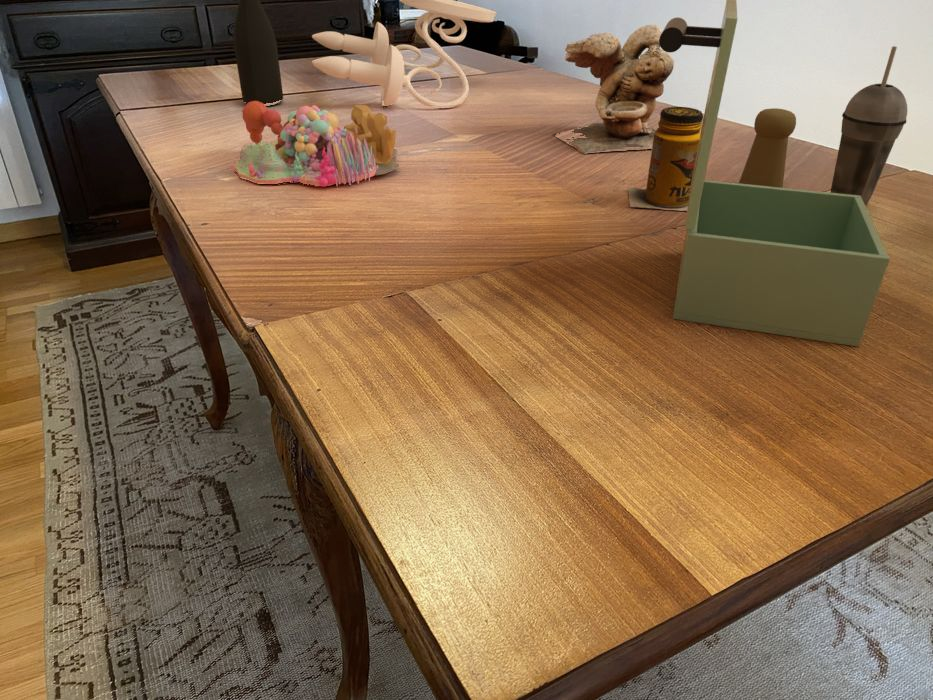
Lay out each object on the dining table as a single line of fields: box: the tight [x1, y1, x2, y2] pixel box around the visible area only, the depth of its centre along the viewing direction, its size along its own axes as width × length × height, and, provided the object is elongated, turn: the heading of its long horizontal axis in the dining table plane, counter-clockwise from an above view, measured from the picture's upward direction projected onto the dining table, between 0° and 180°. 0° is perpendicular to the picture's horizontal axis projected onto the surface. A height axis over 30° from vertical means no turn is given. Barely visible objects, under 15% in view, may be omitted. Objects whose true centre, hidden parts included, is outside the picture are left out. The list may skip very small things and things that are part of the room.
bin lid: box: [659, 0, 738, 230], centre depth 66 cm, size 17×16×6 cm
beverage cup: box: [829, 45, 908, 207], centre depth 89 cm, size 7×7×20 cm
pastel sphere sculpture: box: [233, 101, 400, 188], centre depth 105 cm, size 25×24×9 cm
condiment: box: [627, 106, 704, 212], centre depth 93 cm, size 7×8×12 cm
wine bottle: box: [233, 0, 284, 104], centre depth 134 cm, size 8×8×30 cm
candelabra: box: [311, 0, 497, 107], centre depth 150 cm, size 20×45×37 cm
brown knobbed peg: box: [738, 107, 797, 188], centre depth 97 cm, size 6×6×11 cm
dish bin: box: [672, 179, 890, 348], centre depth 70 cm, size 16×16×9 cm
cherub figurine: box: [564, 24, 675, 154], centre depth 117 cm, size 18×18×18 cm
